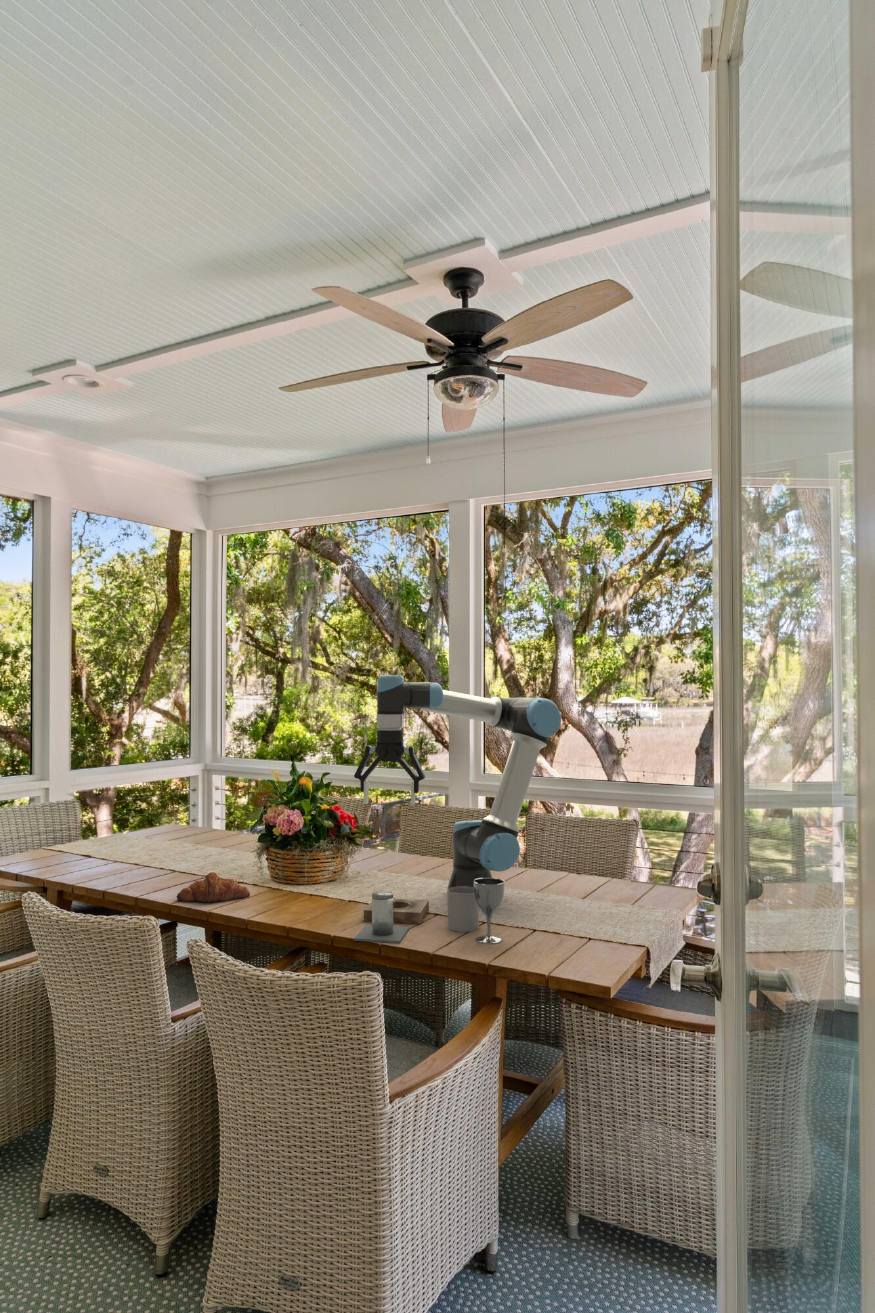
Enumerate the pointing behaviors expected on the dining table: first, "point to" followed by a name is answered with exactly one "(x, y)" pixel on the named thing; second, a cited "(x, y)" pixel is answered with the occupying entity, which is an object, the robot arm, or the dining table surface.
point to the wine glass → (489, 903)
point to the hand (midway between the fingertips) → (389, 804)
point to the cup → (462, 909)
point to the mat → (391, 938)
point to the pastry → (213, 890)
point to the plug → (382, 913)
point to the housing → (404, 910)
